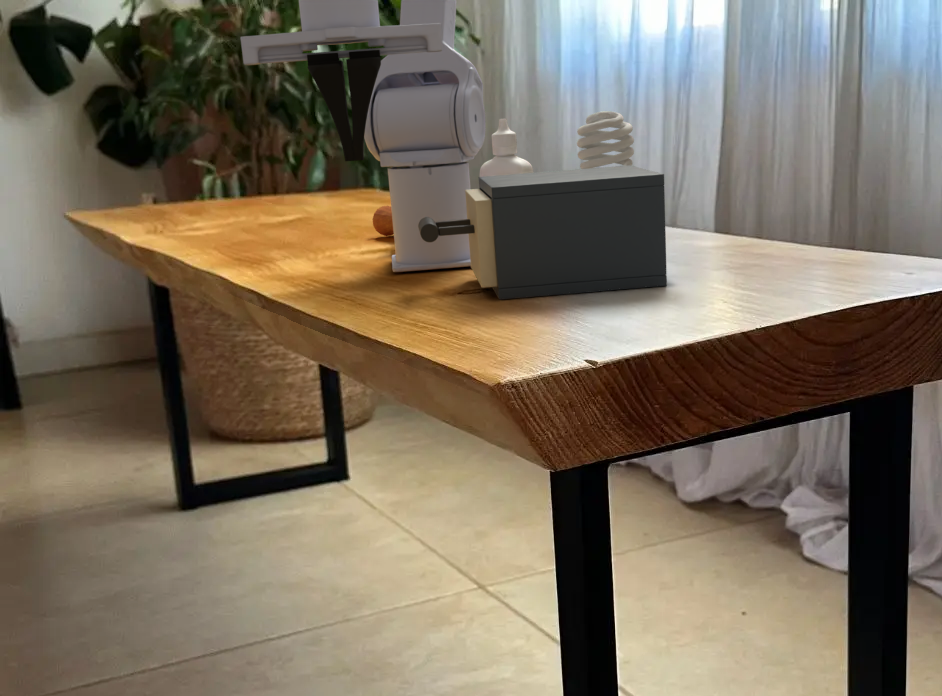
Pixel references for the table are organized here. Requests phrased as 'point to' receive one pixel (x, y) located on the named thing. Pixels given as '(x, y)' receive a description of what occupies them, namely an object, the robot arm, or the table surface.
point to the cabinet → (577, 230)
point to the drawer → (470, 235)
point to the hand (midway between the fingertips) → (354, 160)
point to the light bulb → (596, 136)
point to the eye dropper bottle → (505, 154)
